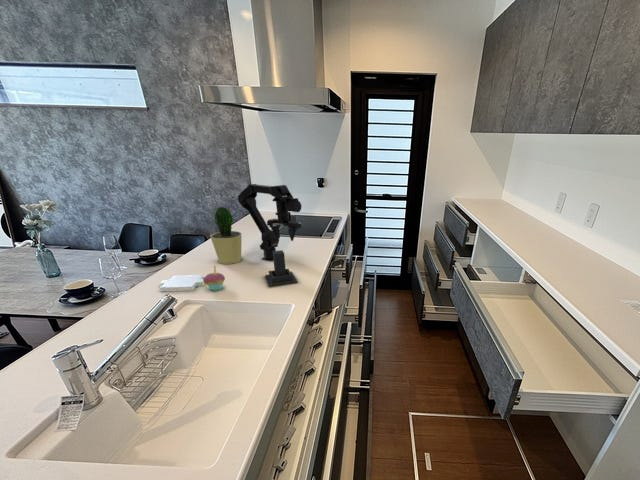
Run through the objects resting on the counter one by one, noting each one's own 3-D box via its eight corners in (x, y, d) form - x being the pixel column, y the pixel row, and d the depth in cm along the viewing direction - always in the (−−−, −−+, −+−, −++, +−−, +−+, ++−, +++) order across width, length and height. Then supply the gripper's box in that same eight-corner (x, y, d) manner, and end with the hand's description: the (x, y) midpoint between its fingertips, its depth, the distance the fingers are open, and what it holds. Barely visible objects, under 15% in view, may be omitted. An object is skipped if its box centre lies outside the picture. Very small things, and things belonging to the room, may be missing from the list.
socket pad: (265, 276, 148) (264, 270, 147) (291, 273, 154) (291, 266, 152) (269, 287, 138) (268, 280, 136) (297, 282, 143) (297, 276, 141)
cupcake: (230, 286, 138) (226, 261, 133) (216, 294, 130) (211, 268, 125) (215, 283, 140) (210, 259, 135) (200, 290, 133) (195, 265, 128)
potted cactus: (208, 262, 164) (197, 206, 152) (230, 254, 177) (221, 202, 165) (230, 267, 159) (220, 209, 147) (251, 258, 172) (243, 205, 160)
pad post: (275, 276, 146) (272, 251, 141) (284, 275, 148) (282, 250, 143) (276, 280, 142) (274, 254, 137) (286, 279, 144) (284, 253, 139)
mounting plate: (154, 291, 131) (153, 287, 130) (169, 279, 142) (168, 275, 142) (198, 290, 133) (197, 286, 132) (209, 278, 145) (208, 275, 144)
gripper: (306, 209, 160) (308, 238, 166) (279, 206, 167) (282, 234, 173) (292, 213, 150) (295, 243, 156) (264, 209, 158) (268, 238, 164)
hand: (285, 239), depth 163 cm, fingers open, 9 cm apart
